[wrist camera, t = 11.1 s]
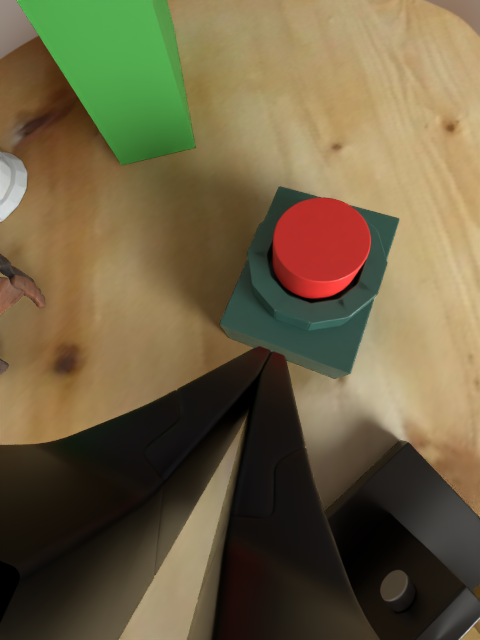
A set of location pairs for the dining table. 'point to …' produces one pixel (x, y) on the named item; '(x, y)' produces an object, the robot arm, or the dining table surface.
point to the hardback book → (120, 70)
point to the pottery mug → (16, 291)
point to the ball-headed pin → (11, 183)
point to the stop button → (319, 247)
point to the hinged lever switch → (409, 549)
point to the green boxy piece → (306, 299)
